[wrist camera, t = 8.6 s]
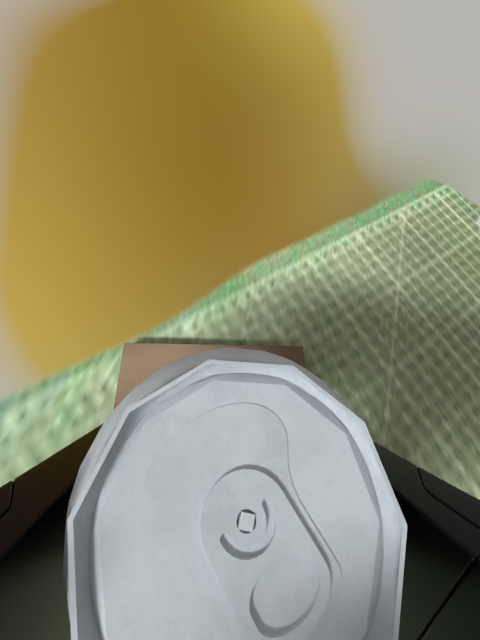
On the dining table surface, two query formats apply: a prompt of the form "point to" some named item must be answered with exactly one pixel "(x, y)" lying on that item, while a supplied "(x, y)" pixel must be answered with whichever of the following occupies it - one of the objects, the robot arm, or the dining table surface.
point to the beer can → (233, 512)
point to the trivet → (152, 357)
